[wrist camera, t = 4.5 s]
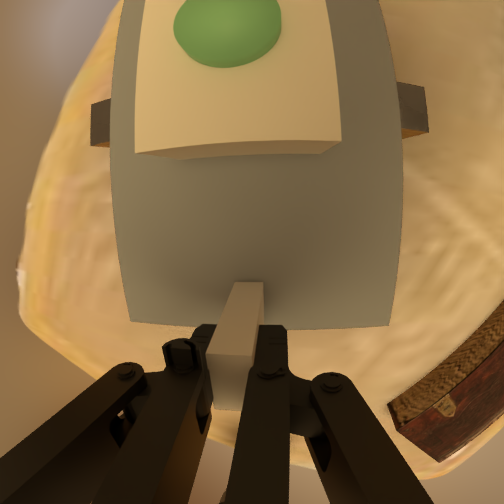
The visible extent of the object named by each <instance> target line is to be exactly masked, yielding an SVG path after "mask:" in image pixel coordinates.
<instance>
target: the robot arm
mask: <svg viewBox="0 0 504 504" xmlns="http://www.w3.org/2000/svg"><path fill="white" fill-rule="evenodd" d="M162 350H163V354H164V359H165V363H166V367H165V369H164V371H160V372H149V373H144V370H143V368H142V366H141V365H139V364H137V363H133V362H125V363H121V364H118V365H116V366H115V367H113V368H112V369H111V370H109V371H108V372H107V373H106V374H104V375H103V376H102V377H101V378H99V379H98V380H97V381H96V382H95V383H93V384H92V385H91V386H90V387H88V388H87V389H86V390H85V391H83V392H82V393H81V394H80V395H78V396H77V397H76V398H75V399H74V400H72V401H71V402H70V403H68V404H67V405H66V406H65V407H63V408H62V409H61V410H60V411H59V412H57V413H56V414H55V415H54V416H52V417H51V418H50V419H49V420H47V421H46V422H45V423H44V424H43V425H41V426H40V427H39V428H37V429H36V430H35V431H34V432H32V433H31V434H30V435H29V436H28V437H26V438H25V439H24V440H22V441H21V442H20V443H19V444H17V445H16V446H15V447H14V448H12V449H11V450H10V451H9V452H7V453H6V454H5V455H4V456H2V457H1V458H0V504H90V503H91V502H92V503H91V504H188V501H189V497H190V494H191V490H192V487H193V483H194V480H195V476H196V473H197V469H198V466H199V462H200V458H201V455H202V451H203V448H204V444H205V441H206V437H207V434H208V430H209V427H210V423H211V420H212V414H211V405H212V402H213V404H214V409H219V410H232V411H242V412H241V417H240V423H239V428H238V433H237V439H236V444H235V449H234V455H233V460H232V466H231V470H230V476H229V481H228V486H227V491H226V496H225V501H224V504H289V503H288V502H289V463H290V433H292V434H296V435H300V436H304V438H305V441H306V444H307V446H308V449H309V451H310V454H311V457H312V459H313V462H314V464H315V467H316V469H317V471H318V474H319V477H320V479H321V482H322V484H323V486H324V489H325V492H326V494H327V497H328V499H329V502H330V504H434V503H433V501H432V500H431V498H430V497H429V495H428V494H427V492H426V491H425V489H424V488H423V486H422V485H421V483H420V482H419V480H418V479H417V477H416V476H415V474H414V473H413V471H412V470H411V468H410V467H409V465H408V464H407V462H406V461H405V459H404V458H403V456H402V455H401V453H400V452H399V450H398V449H397V447H396V446H395V444H394V443H393V441H392V440H391V439H390V437H389V436H388V434H387V433H386V431H385V430H384V428H383V427H382V425H381V424H380V422H379V421H378V419H377V418H376V416H375V415H374V413H373V412H372V411H371V409H370V408H369V406H368V405H367V403H366V402H365V400H364V399H363V397H362V396H361V394H360V393H359V392H358V390H357V389H356V387H355V386H354V384H353V383H352V381H351V380H350V379H349V378H348V377H347V376H345V375H342V374H340V373H334V372H328V373H323V374H320V375H317V376H316V377H315V378H314V379H313V380H312V381H311V380H305V379H302V378H299V377H297V376H295V375H294V374H292V373H291V371H290V370H289V367H288V345H287V330H286V329H285V328H284V326H283V325H264V288H263V282H235V283H234V285H233V288H232V290H231V293H230V295H229V298H228V300H227V302H226V305H225V307H224V310H223V312H222V314H221V317H220V319H219V322H218V324H202V325H200V326H199V327H197V328H196V329H195V330H194V332H193V334H192V337H191V338H190V339H187V338H178V339H174V340H171V341H169V342H167V343H165V344H164V345H163V346H162ZM122 410H123V412H124V413H123V414H122V415H121V416H119V417H118V413H120V412H121V411H122Z"/></svg>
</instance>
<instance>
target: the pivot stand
mask: <svg viewBox="0 0 504 504" xmlns="http://www.w3.org/2000/svg"><path fill="white" fill-rule="evenodd" d="M396 84H397V92H398V100H399V109H400V120H401V133H402V139H404V138H408V137H412V136H416V135H421V134H425V133H429V127H428V116H427V106H426V98H425V91H424V87H420V86H416V85H411V84H406V83H401V82H396ZM110 108H111V98H110V99H107V100H104V101H101V102H98V103H94V104H91V146H98V147H109V148H110Z"/></svg>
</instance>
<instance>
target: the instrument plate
mask: <svg viewBox="0 0 504 504" xmlns="http://www.w3.org/2000/svg"><path fill="white" fill-rule="evenodd" d="M110 171H111V190H112V204H113V215H114V225H115V234H116V242H117V249H118V256H119V263H120V269H121V275H122V281H123V287H124V292H125V297H126V302H127V307H128V312H129V316H130V321H131V322H140V323H150V324H161V325H173V326H186V327H199V326H200V325H202V324H218V322H219V319H220V317H221V314H222V312H223V310H224V307H225V305H226V302H227V300H228V298H229V295H230V293H231V290H232V288H233V285H234V283H235V282H263V288H264V325H283V326H284V328H285V329H286V330H316V329H345V328H364V327H379V326H389V322H390V317H391V312H392V306H393V300H394V293H395V286H396V279H397V271H398V263H399V253H400V242H401V228H402V209H403V152H402V133H401V120H400V109H399V100H398V92H397V84H396V78H395V71H394V65H393V60H392V54H391V49H390V44H389V40H388V35H387V31H386V27H385V23H384V19H383V15H382V11H381V8H380V4H379V1H378V0H124V3H123V8H122V13H121V18H120V24H119V30H118V36H117V43H116V50H115V58H114V67H113V77H112V90H111V108H110Z"/></svg>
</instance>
